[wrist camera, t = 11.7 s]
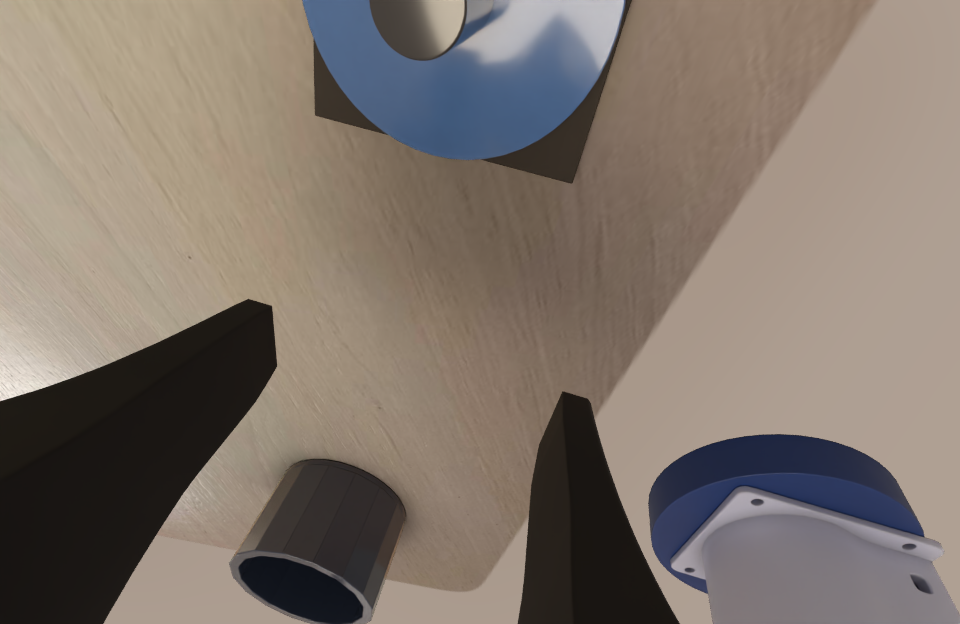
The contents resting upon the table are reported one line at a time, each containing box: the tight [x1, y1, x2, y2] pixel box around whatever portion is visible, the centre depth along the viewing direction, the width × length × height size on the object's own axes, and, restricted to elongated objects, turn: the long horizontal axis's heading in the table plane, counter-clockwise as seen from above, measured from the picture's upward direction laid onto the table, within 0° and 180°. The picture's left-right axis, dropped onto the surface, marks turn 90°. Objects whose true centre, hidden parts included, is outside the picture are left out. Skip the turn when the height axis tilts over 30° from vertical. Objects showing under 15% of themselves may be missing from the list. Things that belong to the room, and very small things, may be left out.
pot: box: [229, 460, 406, 624], centre depth 33 cm, size 9×9×6 cm
